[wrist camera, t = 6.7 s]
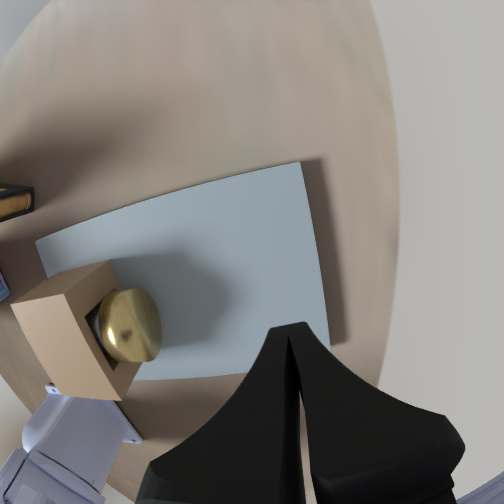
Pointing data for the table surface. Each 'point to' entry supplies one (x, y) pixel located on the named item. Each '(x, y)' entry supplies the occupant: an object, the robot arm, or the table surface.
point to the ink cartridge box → (3, 288)
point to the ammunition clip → (15, 201)
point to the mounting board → (180, 281)
